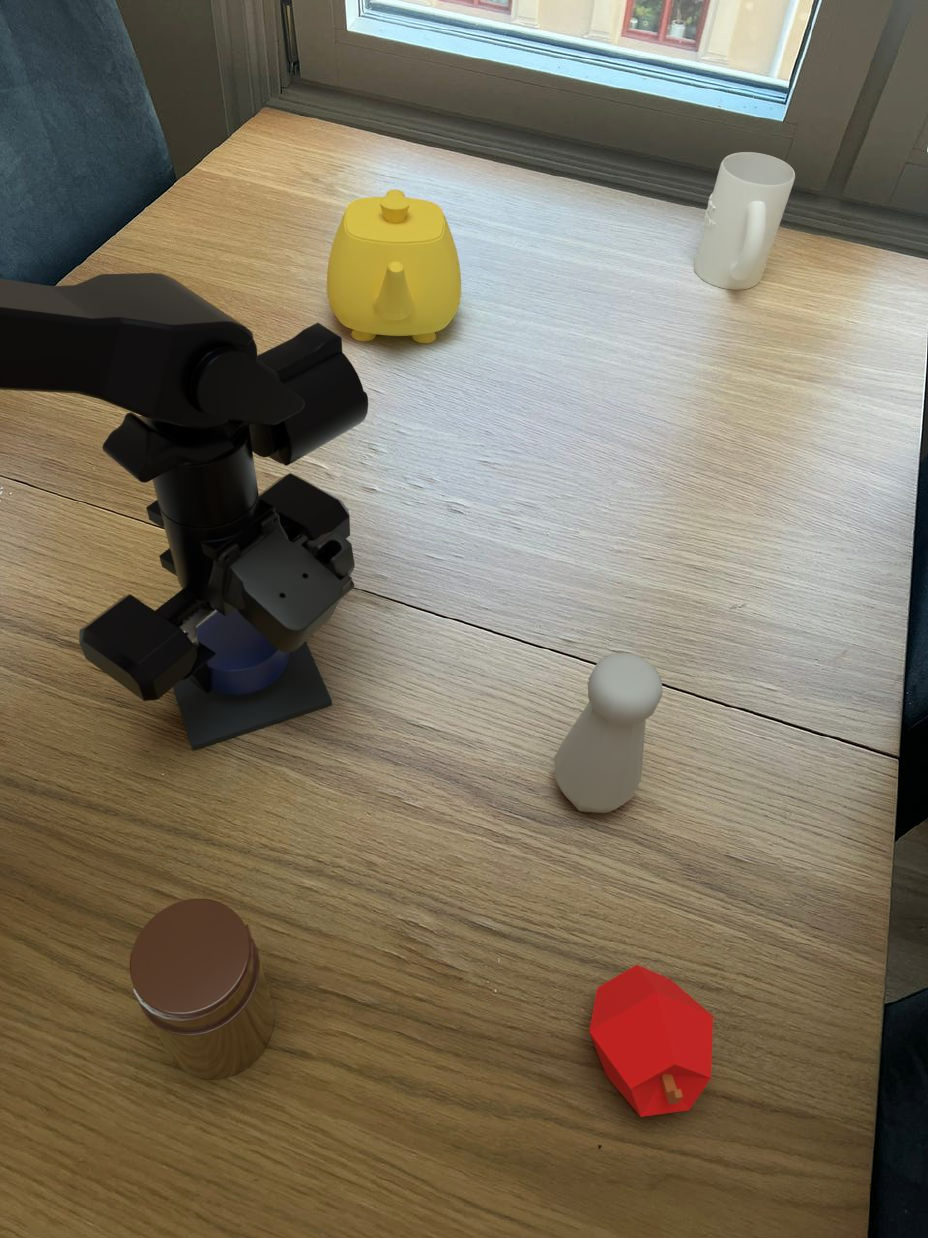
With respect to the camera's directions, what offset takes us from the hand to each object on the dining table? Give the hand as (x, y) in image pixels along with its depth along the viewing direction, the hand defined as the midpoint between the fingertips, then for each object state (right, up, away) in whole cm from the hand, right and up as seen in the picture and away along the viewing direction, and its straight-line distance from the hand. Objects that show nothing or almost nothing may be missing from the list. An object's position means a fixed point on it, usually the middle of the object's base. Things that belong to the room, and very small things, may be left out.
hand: (240, 657), depth 66 cm
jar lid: (0, +2, -2) cm, 3 cm away
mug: (+47, +42, +42) cm, 75 cm away
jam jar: (+2, -20, -14) cm, 24 cm away
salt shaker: (+25, -9, -2) cm, 26 cm away
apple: (+26, -22, -13) cm, 36 cm away
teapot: (+9, +33, +32) cm, 47 cm away
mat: (0, -1, +2) cm, 2 cm away
